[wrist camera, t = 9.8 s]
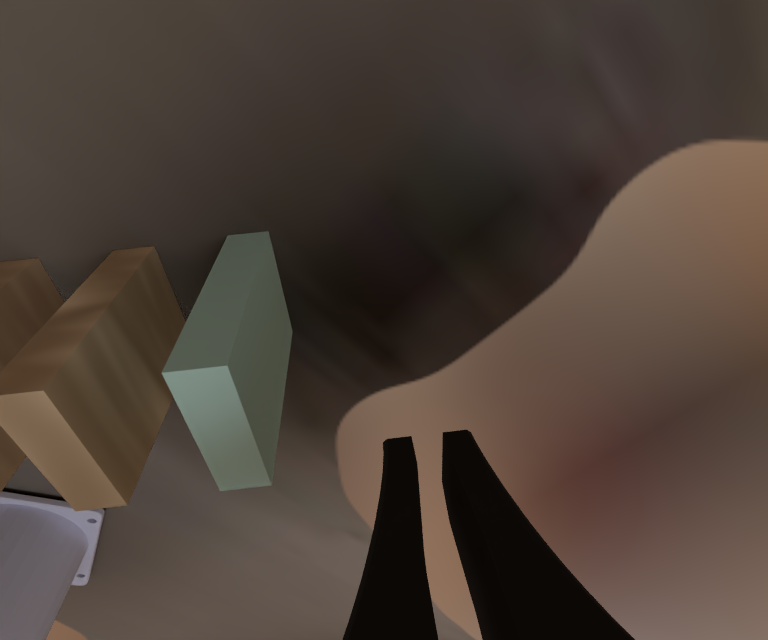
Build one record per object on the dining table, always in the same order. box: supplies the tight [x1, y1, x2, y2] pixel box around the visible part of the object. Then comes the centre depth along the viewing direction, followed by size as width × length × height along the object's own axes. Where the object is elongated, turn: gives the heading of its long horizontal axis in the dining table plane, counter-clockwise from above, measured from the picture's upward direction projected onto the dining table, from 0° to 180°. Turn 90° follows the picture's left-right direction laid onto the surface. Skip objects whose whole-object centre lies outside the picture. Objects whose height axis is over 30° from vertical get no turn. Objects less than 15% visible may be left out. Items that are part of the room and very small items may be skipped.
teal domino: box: [162, 231, 293, 491], centre depth 15 cm, size 2×5×8 cm, turn 3°
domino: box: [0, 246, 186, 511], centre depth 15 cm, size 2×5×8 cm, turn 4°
